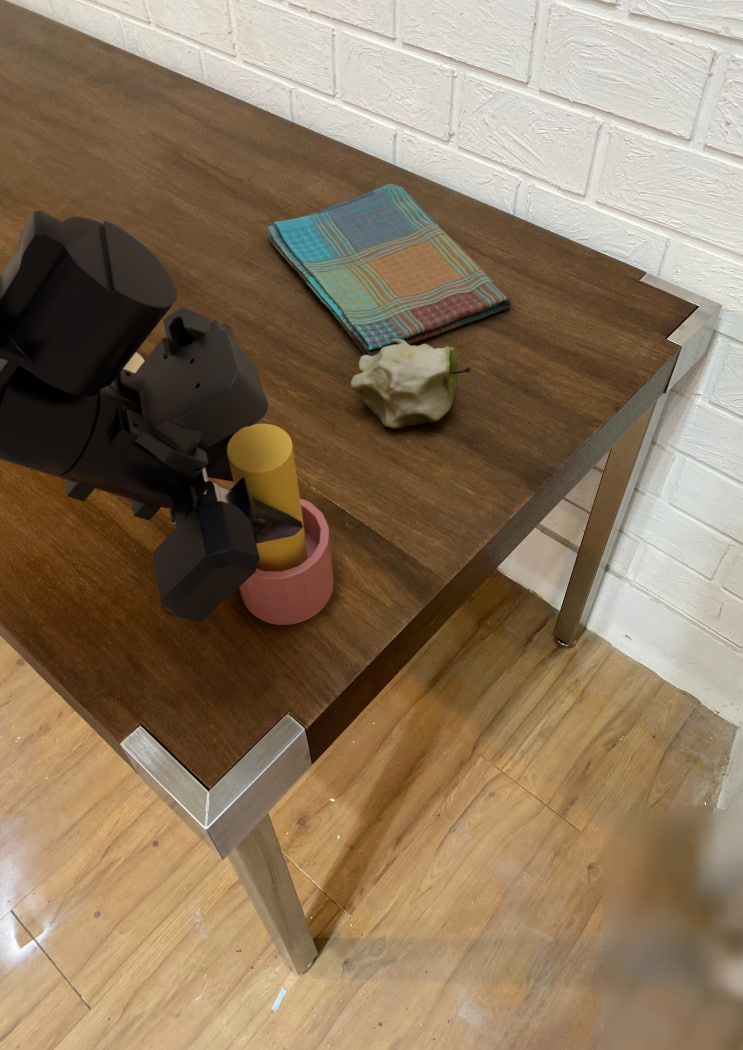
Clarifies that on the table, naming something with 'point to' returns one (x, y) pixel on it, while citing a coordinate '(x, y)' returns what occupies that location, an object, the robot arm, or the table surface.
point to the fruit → (408, 383)
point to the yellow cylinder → (270, 487)
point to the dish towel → (386, 269)
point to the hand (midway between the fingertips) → (291, 504)
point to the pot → (295, 579)
